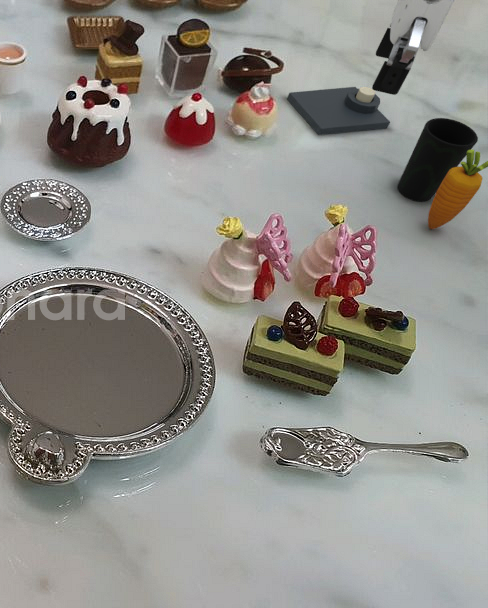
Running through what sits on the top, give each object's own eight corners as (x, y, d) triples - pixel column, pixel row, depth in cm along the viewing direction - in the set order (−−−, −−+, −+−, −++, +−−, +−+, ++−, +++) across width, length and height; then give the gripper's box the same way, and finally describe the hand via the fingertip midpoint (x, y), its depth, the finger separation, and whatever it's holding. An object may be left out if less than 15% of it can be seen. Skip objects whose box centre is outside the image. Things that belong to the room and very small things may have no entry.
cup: (429, 212, 124) (469, 152, 115) (383, 191, 127) (418, 131, 118) (445, 190, 127) (484, 131, 119) (400, 171, 131) (435, 111, 122)
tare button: (366, 94, 142) (370, 86, 141) (374, 102, 140) (378, 94, 139) (352, 95, 142) (356, 87, 141) (360, 103, 140) (364, 95, 139)
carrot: (453, 231, 121) (507, 155, 109) (436, 243, 119) (489, 167, 107) (425, 214, 123) (475, 138, 112) (407, 225, 121) (456, 149, 110)
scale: (353, 92, 147) (360, 79, 145) (388, 128, 140) (396, 114, 137) (286, 98, 145) (292, 85, 143) (318, 135, 138) (324, 121, 135)
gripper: (486, -17, 85) (413, 113, 98) (480, -73, 96) (415, 51, 108) (415, -31, 87) (352, 98, 100) (417, -84, 98) (360, 39, 110)
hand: (385, 73), depth 104 cm, fingers open, 9 cm apart
